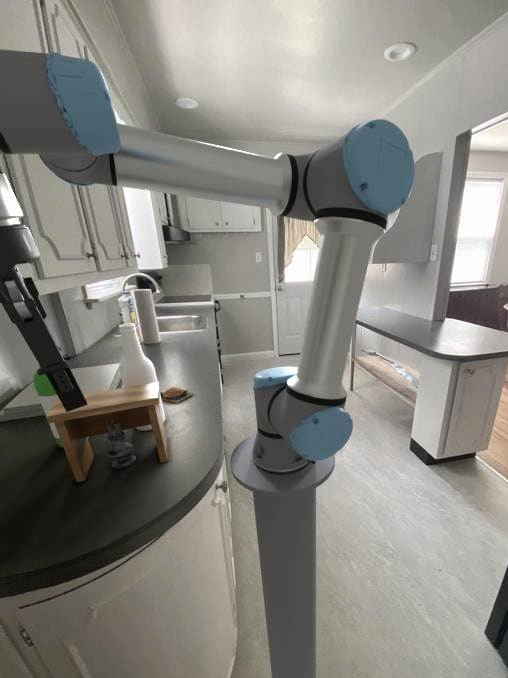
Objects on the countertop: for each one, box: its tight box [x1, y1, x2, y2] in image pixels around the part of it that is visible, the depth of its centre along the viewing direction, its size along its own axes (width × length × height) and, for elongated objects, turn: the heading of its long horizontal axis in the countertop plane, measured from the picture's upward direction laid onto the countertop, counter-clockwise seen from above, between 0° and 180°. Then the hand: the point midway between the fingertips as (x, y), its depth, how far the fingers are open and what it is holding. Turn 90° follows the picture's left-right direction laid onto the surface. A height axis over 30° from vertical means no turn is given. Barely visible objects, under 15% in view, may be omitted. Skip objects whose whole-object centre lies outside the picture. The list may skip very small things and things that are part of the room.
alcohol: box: [118, 322, 166, 431], centre depth 85 cm, size 9×9×30 cm
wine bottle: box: [32, 364, 90, 449], centre depth 78 cm, size 8×8×30 cm
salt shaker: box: [106, 419, 137, 469], centre depth 72 cm, size 6×6×12 cm
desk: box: [45, 381, 169, 483], centre depth 72 cm, size 10×21×17 cm, turn 111°
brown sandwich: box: [160, 386, 194, 404], centre depth 108 cm, size 11×8×4 cm
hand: (76, 406), depth 44 cm, fingers closed
